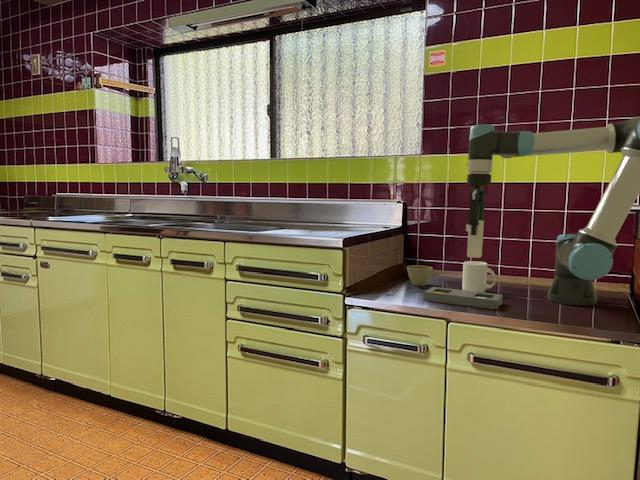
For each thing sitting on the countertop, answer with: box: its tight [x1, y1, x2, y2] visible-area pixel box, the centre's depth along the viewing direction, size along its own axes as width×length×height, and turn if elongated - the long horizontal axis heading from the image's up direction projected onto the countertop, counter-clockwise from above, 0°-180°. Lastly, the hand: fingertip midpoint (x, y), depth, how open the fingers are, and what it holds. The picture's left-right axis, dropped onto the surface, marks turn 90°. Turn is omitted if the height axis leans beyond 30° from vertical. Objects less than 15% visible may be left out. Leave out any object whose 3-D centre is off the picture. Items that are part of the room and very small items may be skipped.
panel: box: [423, 286, 504, 310], centre depth 166 cm, size 24×10×3 cm, turn 60°
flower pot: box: [406, 265, 434, 287], centre depth 194 cm, size 10×10×7 cm
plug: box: [465, 220, 485, 259], centre depth 162 cm, size 5×4×12 cm
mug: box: [461, 260, 497, 293], centre depth 182 cm, size 9×12×11 cm
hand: (475, 244), depth 162 cm, fingers closed on plug, 4 cm apart
